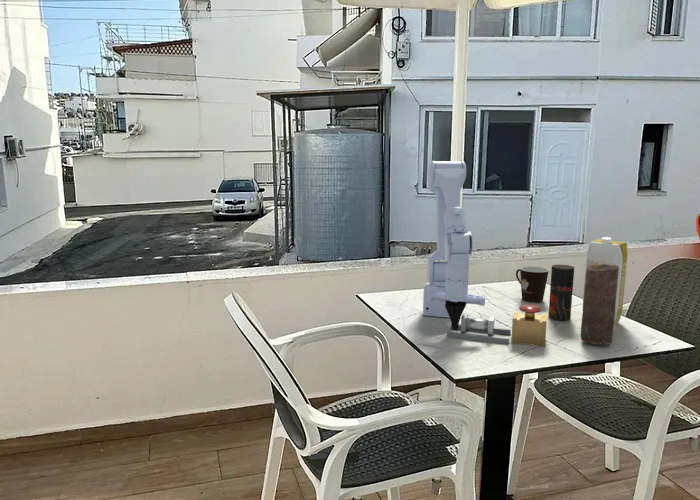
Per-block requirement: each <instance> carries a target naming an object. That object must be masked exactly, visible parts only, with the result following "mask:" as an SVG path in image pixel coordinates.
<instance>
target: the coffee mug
mask: <svg viewBox="0 0 700 500" xmlns="http://www.w3.org/2000/svg"><path fill="white" fill-rule="evenodd" d="M519 273H520V275H519ZM549 273H550V270H549V269H548V268H546V267H543V266H533V265H530V266H529V265H528V266H527V265H526V266H522V267H519V268H518V269H517V270H516V273H515V276H516V280H517V281H518V283H519V284H520V290H521V291H520V292H521V300H522V301H523V302H527V303H532V304H533V303H534V304H535V303H536V304H537V303H542V302H544V297H545V291H546V287H547V281H548V276H549ZM519 276H520V277H519Z"/></svg>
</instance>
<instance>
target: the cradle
mask: <svg viewBox="0 0 700 500" xmlns="http://www.w3.org/2000/svg"><path fill="white" fill-rule="evenodd" d="M450 330H452V324H451V323H450ZM457 330H460V331H461V323H459V325H458V329H457ZM494 334H501V335H512V328H502V327H495V326H494ZM446 338H451V339H460V340H470V341H478V342H486V343H487V342H488V343H489V342H490V343H499V344H505V345H509V344H510V337H502V336H495V335H493V336H488V335H487V334H485V335H482V334H477V333H461V332H455V331H446Z"/></svg>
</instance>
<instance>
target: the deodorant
mask: <svg viewBox="0 0 700 500" xmlns="http://www.w3.org/2000/svg"><path fill="white" fill-rule="evenodd" d="M550 273H551V274H550V275H551V276H550V288H549V289H550V290H549V302H548V304H549V305H548V316H547V317H548V319H549V320H551V321H555V322H570V321H571V316H572V306H573V305H572V304H573V303H572V302H573V291H574V279H575V266H573V265H569V264H568V265H567V264H552V265H551V271H550Z"/></svg>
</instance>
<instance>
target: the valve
mask: <svg viewBox="0 0 700 500" xmlns="http://www.w3.org/2000/svg"><path fill="white" fill-rule="evenodd" d="M519 310H520V311H521V313H520V312H519V311H516V310H514V311H513V315H512V322H511V337H510V338H511V339H510V340H511V341H510V342H511V344H522V345H530V346H540V347H546V340H547V339H546V336H547V322H548V319H547V317H548V316H547V313H541V314H538V313H540V312H542V311H541V310H542V309H541V307H540V306H538V305H533V304H522V305H520V306H519ZM522 312H524V313H522ZM536 313H537V314H536Z"/></svg>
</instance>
